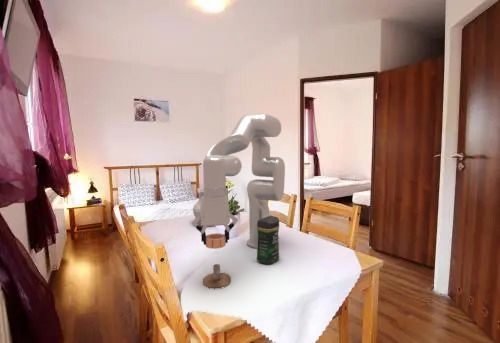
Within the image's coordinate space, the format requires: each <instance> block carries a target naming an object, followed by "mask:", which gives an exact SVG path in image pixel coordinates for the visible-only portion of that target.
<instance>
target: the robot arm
mask: <svg viewBox="0 0 500 343" xmlns="http://www.w3.org/2000/svg"><path fill="white" fill-rule="evenodd" d="M281 132H282V123H281V121H280V119H279V118H277V117H275V116H273V115H271V114H267V113H250V114H244V115H242V116H241V117H240V118H239V120H238V122H237V123H236V124H235V126H234V128H233V130H232V132H231V133H230V135H228V136H226V137H224V138H223V139H220V140H219V141H218V142H216V143H215V144H213V146H211V147H210V149H209V150H208V151H207V153H206V155H205V157H204V159H203V162H202V170H203V171H202V175H203V176H202V177H203V180H202V181H203V184H204V196H202V198H201V205H200V215H199V216H197V217H195V218H194V219H193V220H192V221H191V224H192V226H193V227H194V228H195V229H196V230H197V231H199V232H200V234H201V235H200V236H201V239H200V240H201V242H202V243H203V246H205V244H206V236H207V233H206V230H207V227H215V226H216V227H217V226H224V228H225V229H224V235H225V237H226V244H228V243H229V242H228V241H229V240H230V232H231V230H232V229H233V228H234V227H235V226H236V224H237V223H238V222H239V220H238V218H237V217H236V216H234V214H232V213H231V212H230V204H229V198H228V195H227V194H228V193H229V194H230V191H231V190H230V188H227V187H226V177H234V176H237V175H238V174H239V173H240V172H241V170H242V162H241V159H240V158H239V157H237V156H235V155H232V154H236V153H240V152H242V151H244V150H246V149H247V148H248V147H249V145H250V144H251V147H252V153H251V154H252V155H251V156H252V157H251V173H252V174H253V176H255V177H262V178H263V177H264V178H272V179H259V178H258V179H257V178H256V179H252V180H250V181H249V182H248V184H247V187H246V191H247V192H246V193H247V197H248V208H249V210H248V211H249V212H248V213H249V220H248V221H249V239H247V241H246V246H248V247H250V248H251V249H252V248H253V249H258V229H257V223H258V220H260V219H263V218H265V217H268V216H270V207H269V204H268V203H267V201H272V202H273V201H274V202H279V201H281V200H283V197H284V193H285V181H286V180H285V178H286V165H285V161H284V159H283V158H282V157H278V156H271V145H270V143H269V142H268V140H267V139H266V138H276V137H279V135H280V134H281ZM199 220H200V221H199ZM231 220H232V221H231ZM198 222H200V223H201V224H198ZM278 240H280V237H279V235H278Z"/></svg>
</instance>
